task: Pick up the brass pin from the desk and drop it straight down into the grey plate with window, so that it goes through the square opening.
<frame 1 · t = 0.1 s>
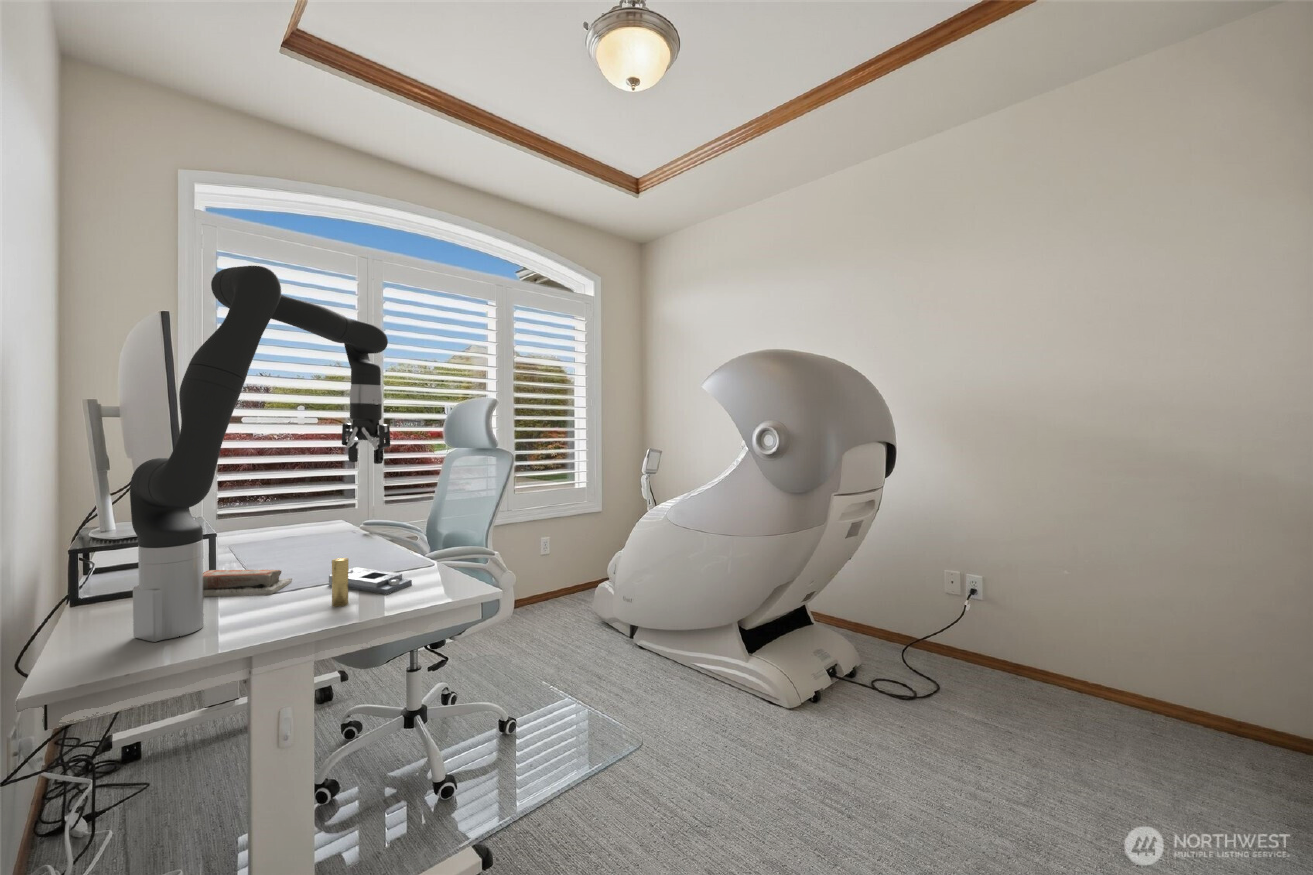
hand: (365, 462, 146), 29 cm above the table, tool pointing down, fingers open, 8 cm apart
grey plate with window: (373, 585, 135), on the table
packaged product: (241, 591, 130), on the table
brass pin: (340, 604, 121), on the table
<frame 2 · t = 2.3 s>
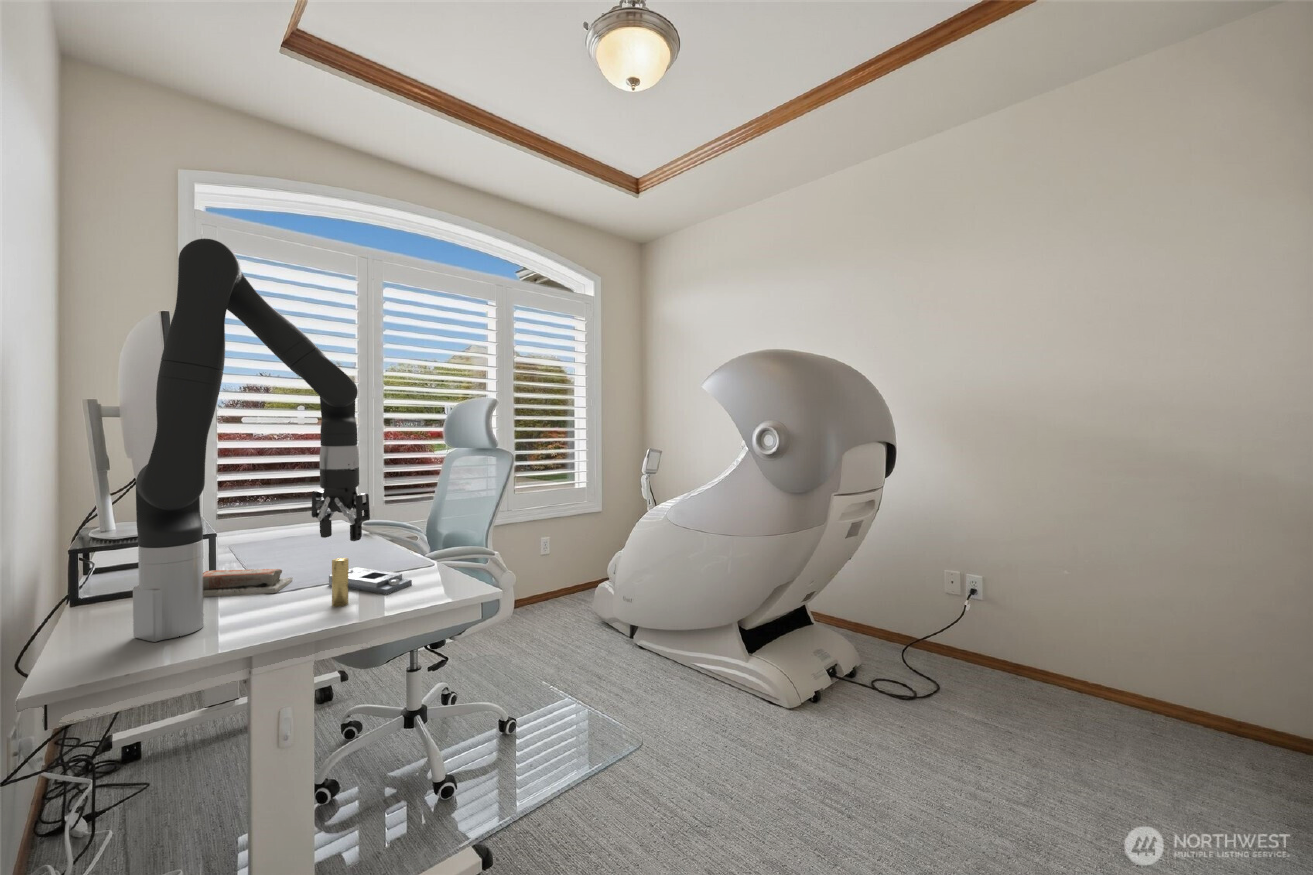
hand: (340, 538, 121), 15 cm above the table, tool pointing down, fingers open, 8 cm apart
nothing on the table moved.
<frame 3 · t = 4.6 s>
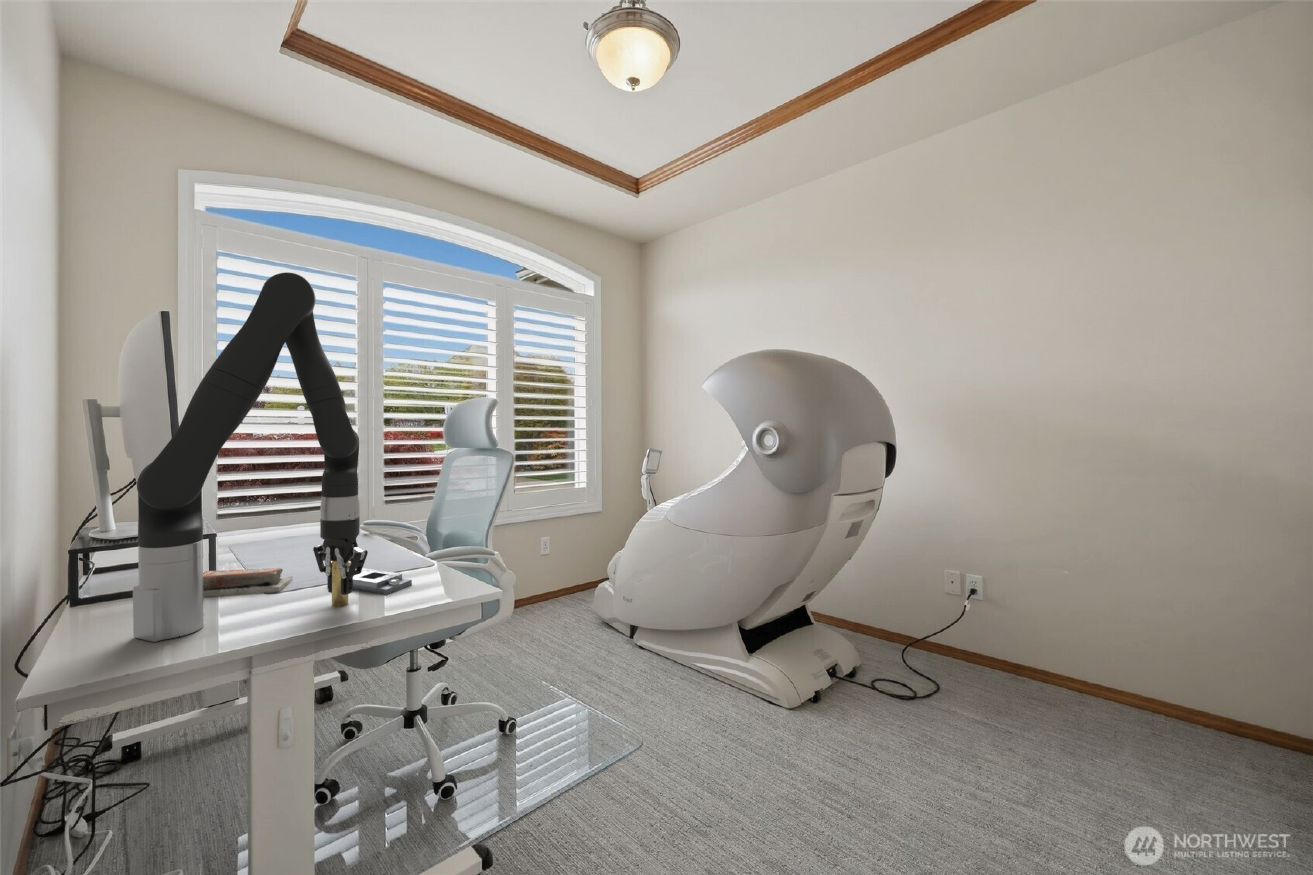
hand: (340, 592, 121), 3 cm above the table, tool pointing down, fingers closed on brass pin, 3 cm apart
brass pin: (340, 604, 121), on the table, touching gripper
everything else where it was.
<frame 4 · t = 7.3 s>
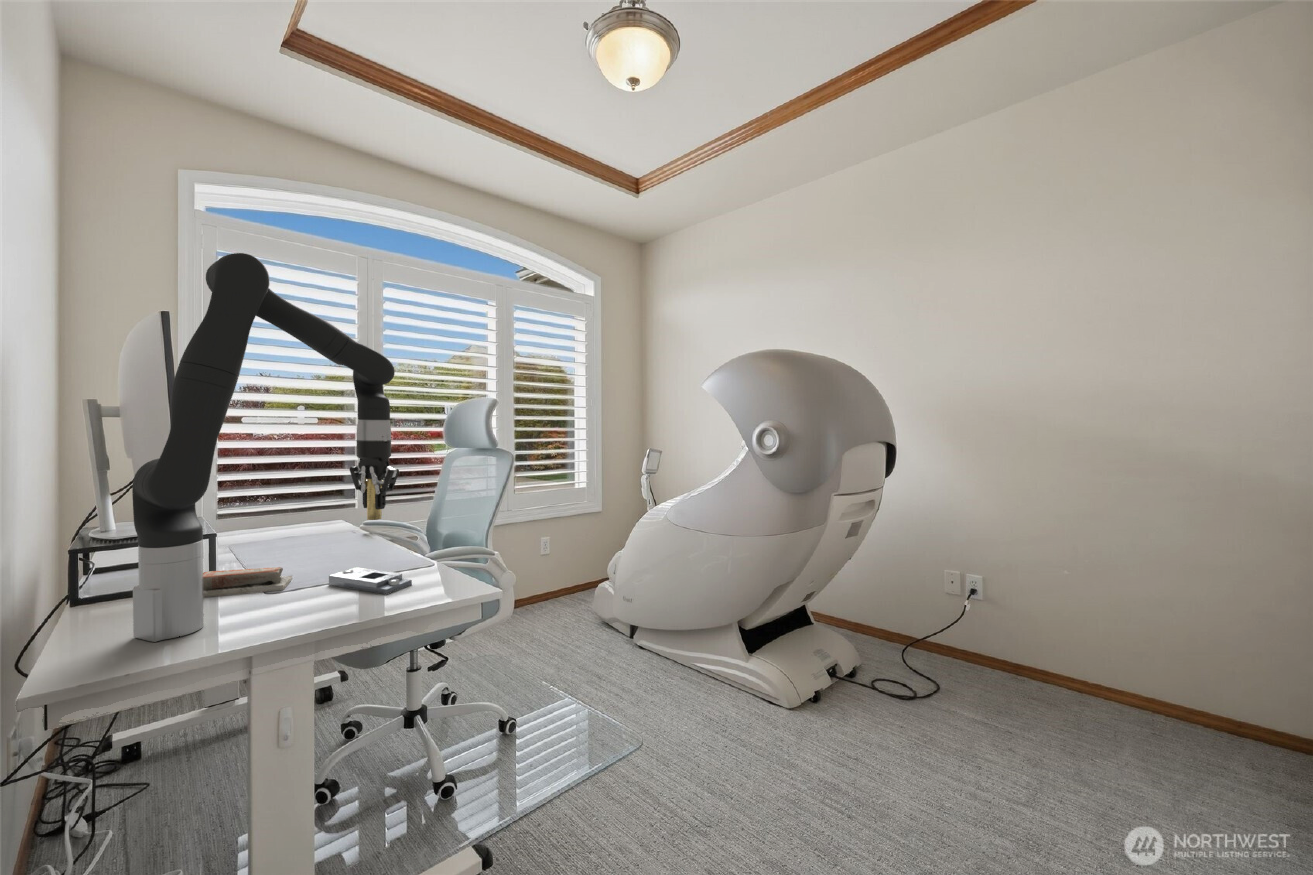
hand: (374, 508, 134), 19 cm above the table, tool pointing down, fingers closed on brass pin, 3 cm apart
brass pin: (374, 518, 134), point 17 cm above the table, touching gripper
when the fingers open (4 cm above the table, at t = 10.5 s): brass pin stays where it is, resting in grey plate with window.
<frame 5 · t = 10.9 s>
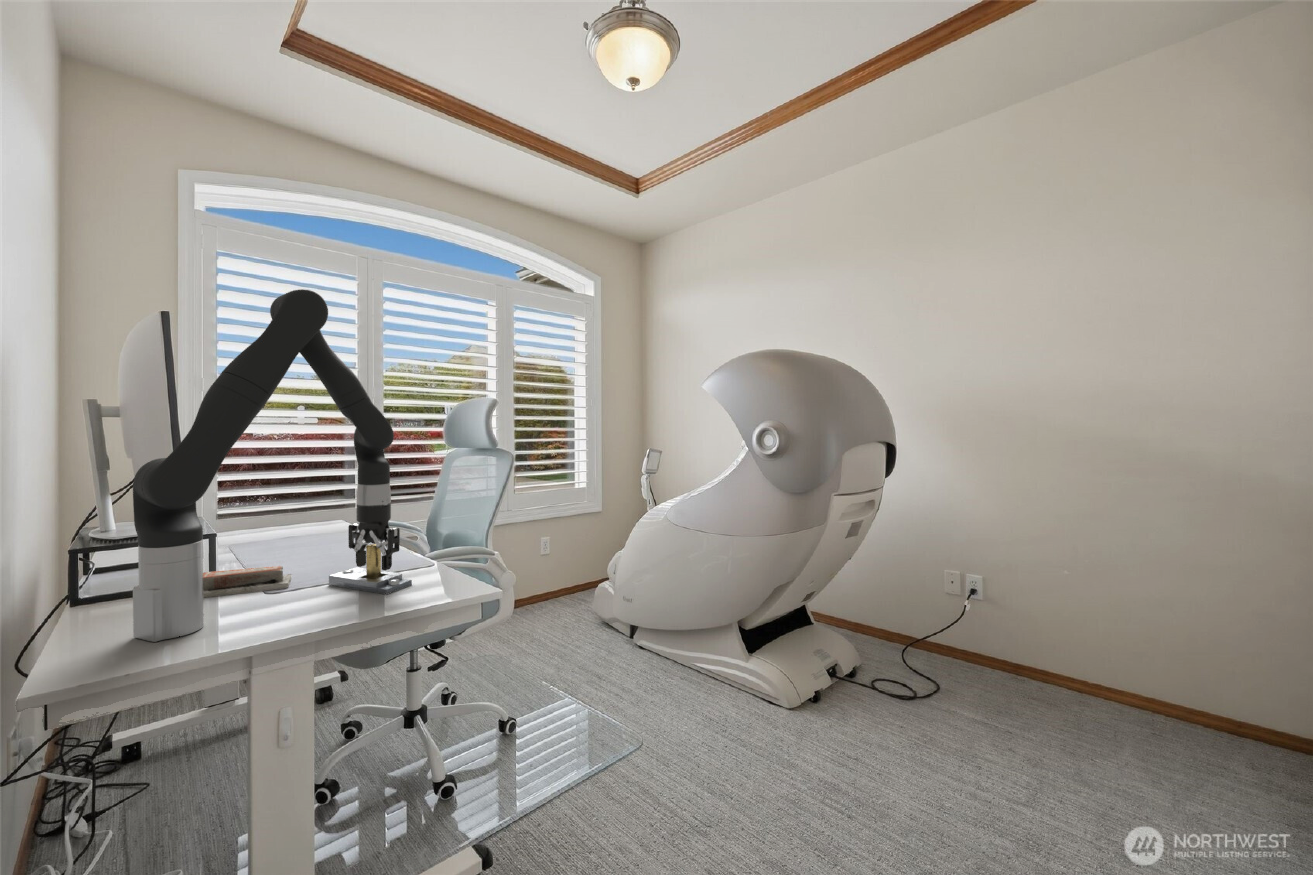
hand: (373, 567, 135), 4 cm above the table, tool pointing down, fingers open, 7 cm apart
brass pin: (373, 585, 135), resting in grey plate with window
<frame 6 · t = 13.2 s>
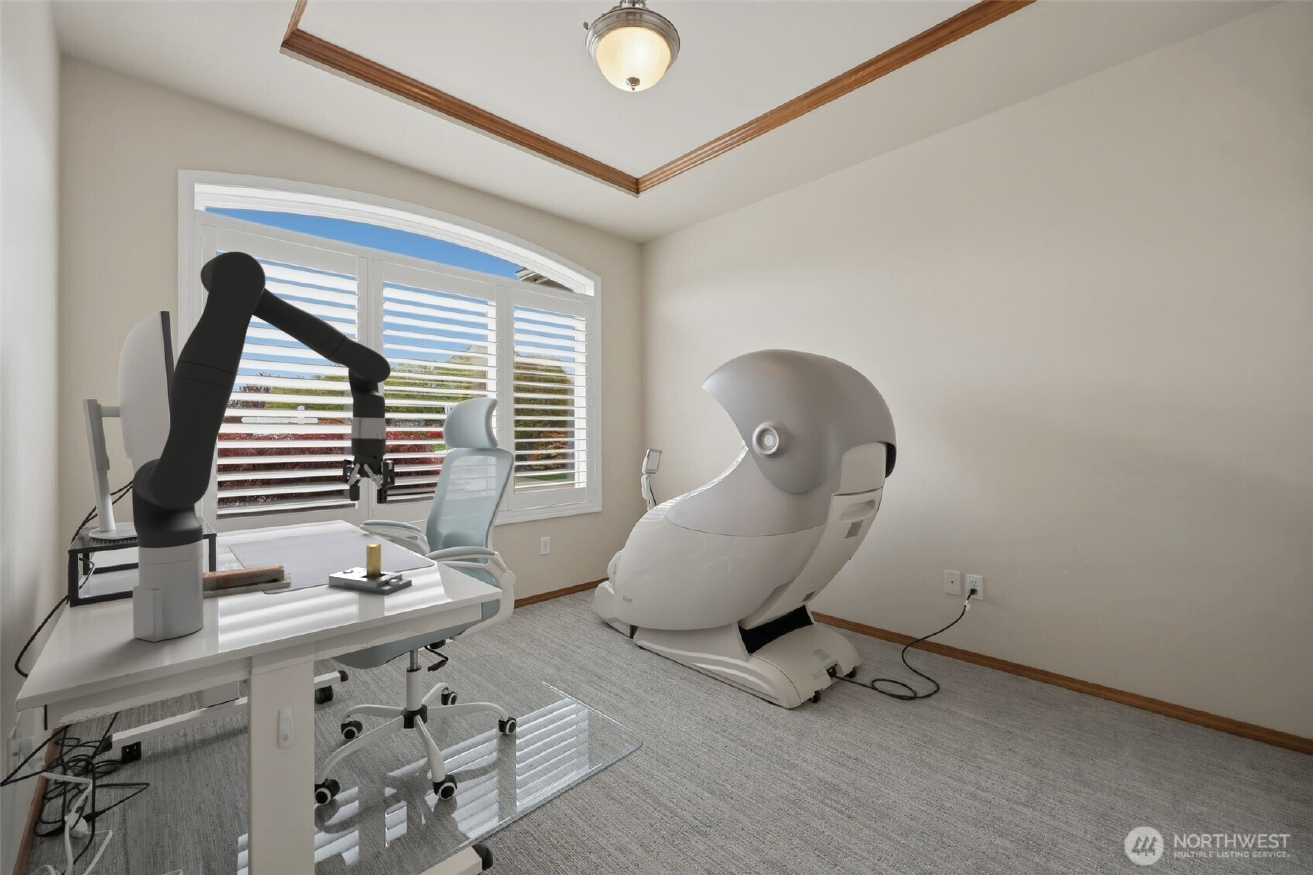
hand: (368, 502, 134), 21 cm above the table, tool pointing down, fingers open, 8 cm apart
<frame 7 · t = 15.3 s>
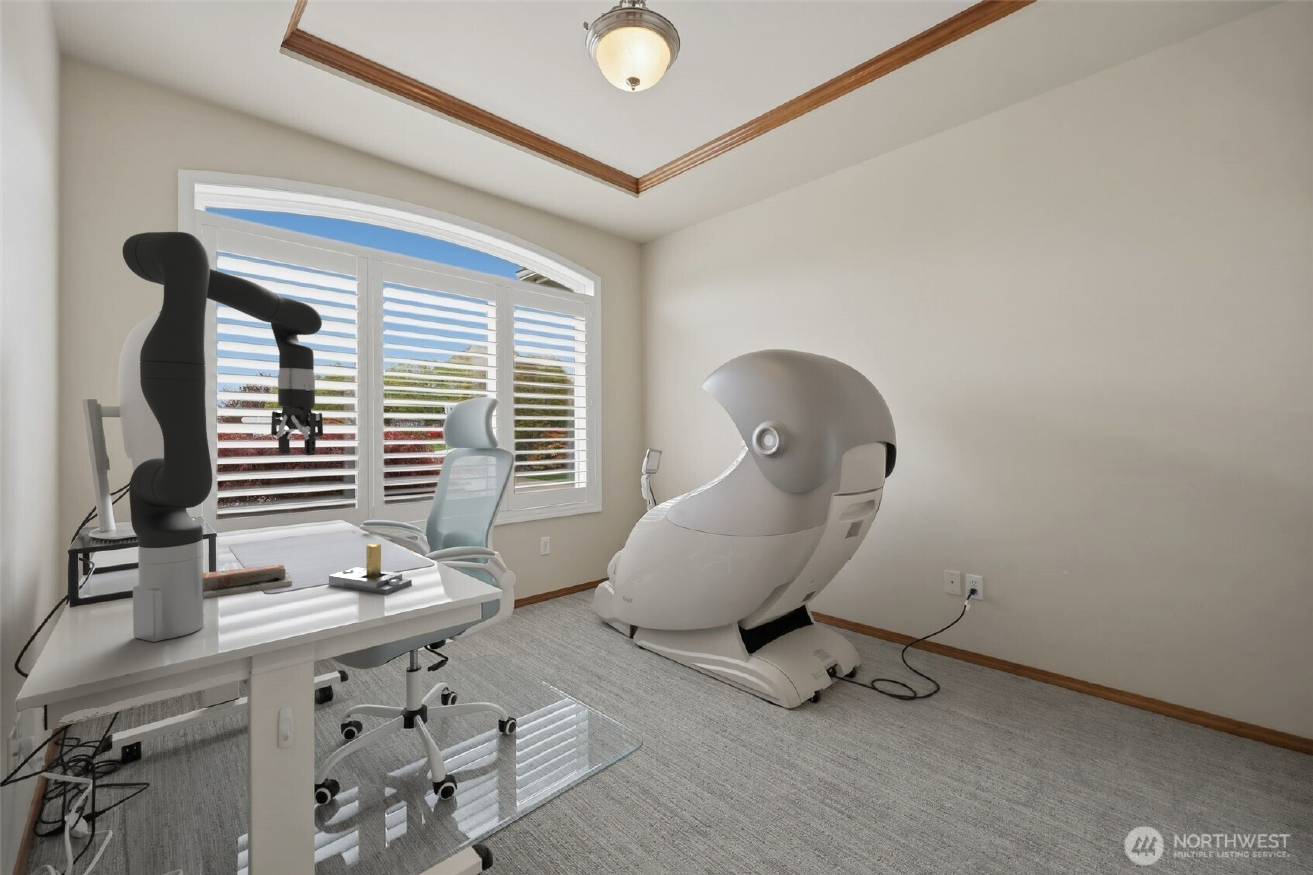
hand: (296, 454, 134), 32 cm above the table, tool pointing down, fingers open, 8 cm apart
at the end: brass pin 0.0 cm off-centre on the grey plate with window, point 0.0 cm above the grey plate with window's base; brass pin tilted 0°; the gripper is holding nothing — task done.
